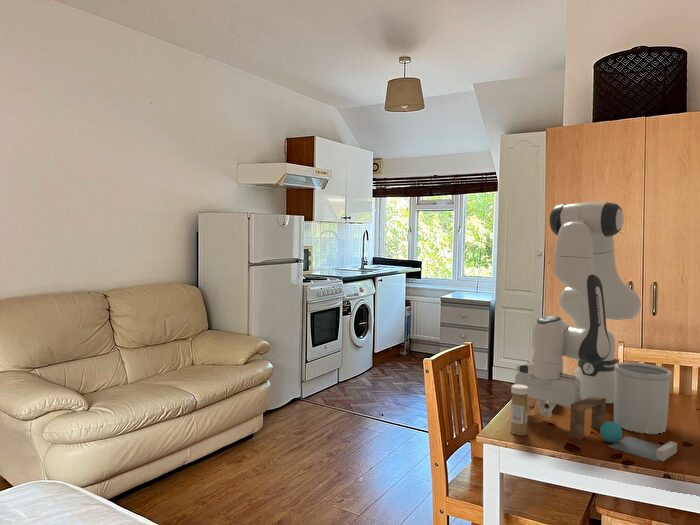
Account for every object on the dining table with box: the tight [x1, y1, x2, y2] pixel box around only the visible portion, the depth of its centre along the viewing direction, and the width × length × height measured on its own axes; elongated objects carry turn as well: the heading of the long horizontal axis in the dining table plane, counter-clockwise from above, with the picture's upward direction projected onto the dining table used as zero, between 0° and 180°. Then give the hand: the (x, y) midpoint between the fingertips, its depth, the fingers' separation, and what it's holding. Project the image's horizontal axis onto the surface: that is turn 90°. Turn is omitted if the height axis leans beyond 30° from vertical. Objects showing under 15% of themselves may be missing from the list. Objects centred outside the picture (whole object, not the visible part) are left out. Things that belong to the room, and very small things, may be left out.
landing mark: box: [608, 435, 663, 463], centre depth 140 cm, size 12×12×1 cm
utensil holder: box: [613, 361, 673, 435], centre depth 157 cm, size 15×15×18 cm
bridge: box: [569, 395, 607, 441], centre depth 151 cm, size 3×14×9 cm, turn 130°
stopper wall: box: [656, 440, 678, 462], centre depth 135 cm, size 9×2×2 cm, turn 130°
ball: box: [599, 420, 623, 443], centre depth 144 cm, size 6×6×6 cm
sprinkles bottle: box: [510, 384, 529, 436], centre depth 150 cm, size 5×5×13 cm
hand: (545, 415), depth 161 cm, fingers closed
